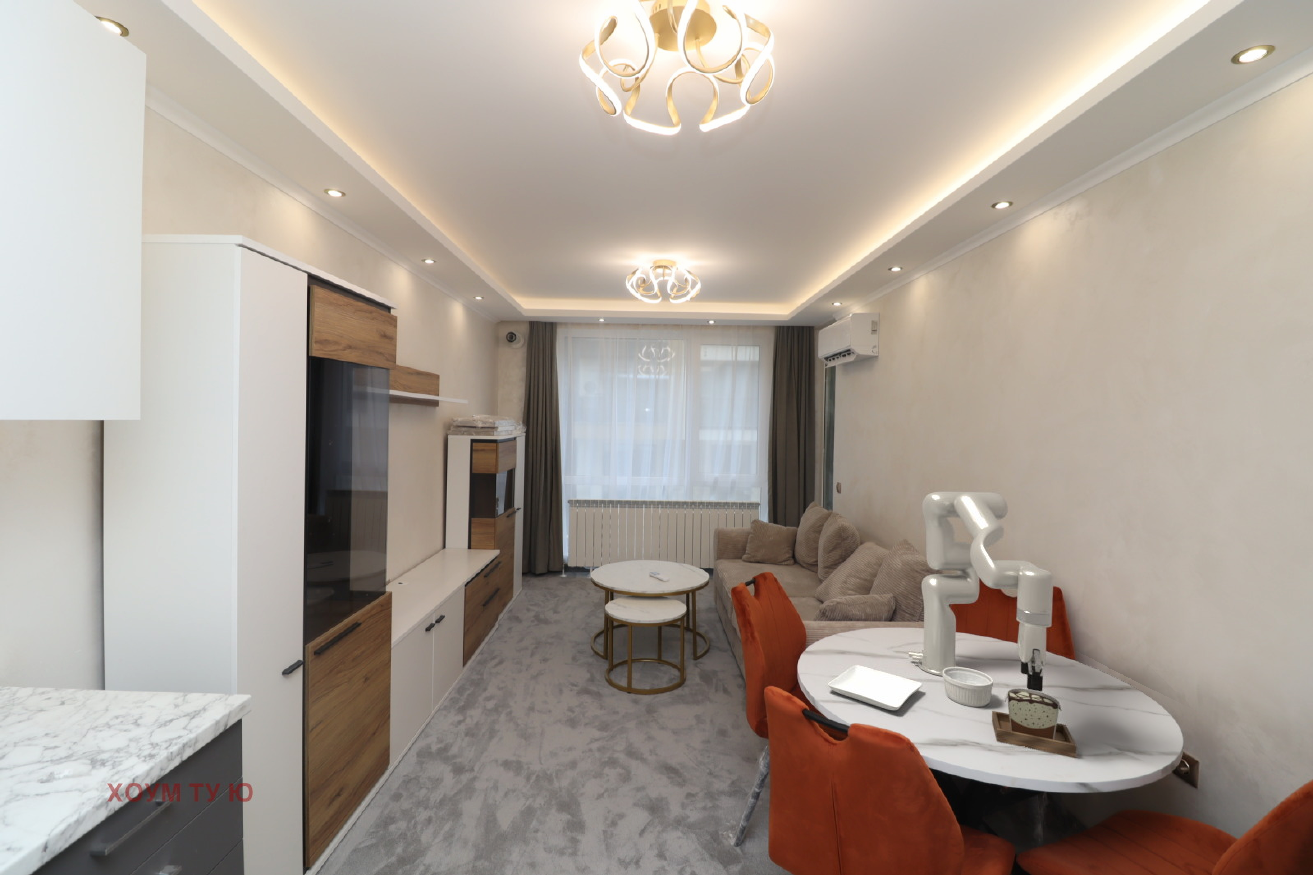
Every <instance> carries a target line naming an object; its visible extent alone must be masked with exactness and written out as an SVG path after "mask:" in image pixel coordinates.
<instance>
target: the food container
mask: <svg viewBox="0 0 1313 875" xmlns="http://www.w3.org/2000/svg"><path fill="white" fill-rule="evenodd" d="M1004 697H1005V698H1004V702H1005V703H1006V702H1007V709H1008V714H1009V719H1010V730H1011V731H1013V732H1018V733H1023V734H1028V735H1033V736H1038V737H1043V738H1047V739H1052V740H1054V738H1055V731H1056V725H1057V723H1058V719H1059V718H1058V716H1059V710H1060V712H1062V707H1061V706H1062V705H1061V704H1060V702H1059V700H1057V699H1056V698H1055V697H1052V696H1051V695H1050V694H1046V693H1043V692H1042V691H1041V692H1040V691H1035V690H1029V689H1028V688H1012V689H1009V690H1008V691H1007V693H1006V694H1005V696H1004Z"/></svg>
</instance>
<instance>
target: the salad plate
mask: <svg viewBox="0 0 1313 875" xmlns="http://www.w3.org/2000/svg"><path fill="white" fill-rule="evenodd" d="M827 686H828V687H829V688H830V689H831V690H832V691H834V692H836V693H837V694H840V695H842V696H846V697H848V698H851V699H854V700H858V701H860V702H862V703H863V702H864V703H866V704H870V705H872V706H876V707H877V708H881V709H884V710H888V711H898V710H899V709H900V708H901V707H902V705H903V704H904V703H905V702H906V701H907V700H908V699H909V698H910V697H911V696H913V694H914V693H916V692H917V691H918V690H920V688H922V686H923V682H919V681H916V680H912V679H909V678H905V677H904V676H899V675H895V674H893V673H889V672H885V671H882V670H876V669H875V668H870V667H866V666H864V665H863V666H862V665H859V664H854V665H852V666H851V667H849V668H848V669H847V670H845V671H844V672H842V673H840V674H839V675H838V676H836V677H835V678H834V679H832V680H830V681H829V682H828V683H827Z"/></svg>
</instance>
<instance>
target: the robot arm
mask: <svg viewBox="0 0 1313 875" xmlns="http://www.w3.org/2000/svg"><path fill="white" fill-rule="evenodd" d="M1008 508H1009V506H1008V503H1007V501H1006V500H1005V498H1004V497H1003V496H1002V495H1001V494H999V493H996V492H990V491H989V492H988V491H987V492H985V491H984V492H983V491H982V492H981V491H977V492H976V491H945V490H944V491H935V492H930V493H928V494H926V496H925V497H924V499H923V500H922V508H921V510H922V516H923V519H924V524H925V532H926V534H925V538H926V540H925V541H926V542H925V543H926V544H925V545H926V546H925V547H926V548H925V549H926V552H925V553H926V562H927V565H928V567H929V568H931V569H932V570H936V571H948V572H949V571H951V572H952V571H957V574H955V573H954V574H952V573H951V574H950V573H935V574H928V575H926V576H925V577H923V579H922V581H921V593H922V594H921V595H922V599H923V649H922V652H921V651H919V652H915V651H908V658H912V660H913V661H914V660H915V661H917V664H918V665H917V666H918V667H919V668H920V669H921V670H922V671H924V672H926V673H929V674H932V675H936V676H940V677H943V670H944V669H946V668H949V667H959V666H958V665H957V664H956V641H957V640H956V638H957V637H956V636H957V635H956V634H957V633H956V632H957V625H956V624H957V619H956V618H957V617H956V615H955V613H954V611H953V610H952V609H951V607H950V605H954V604H957V605H959V604H960V605H961V604H963V605H965V604H974V603H975V602H976V601H977V600H978V599H979V595H980V580H981V582H982V583H983V584H984V585H985V586H987V587H988V588H990V589H994V590H995V589H997V590H1005V589H1006V590H1007V589H1008V590H1011V589H1014V590H1017V597H1016V598H1017V599H1016V600H1017V601H1016V618H1015V619H1016V621H1017V622H1018V623H1019V624H1018V625H1019V626H1018V634H1017V635H1018V636H1017V645H1016V646H1017V648H1016V650H1017V654H1018V656H1019V658H1020V673H1021V674H1023V675H1026V676H1027V677H1026V689H1029V690H1034V691H1038V692H1041V693H1042V692H1043V686H1044V685H1043V684H1044V682H1043V681H1044V674H1043V673H1044V672H1043V667H1044V666H1045V665H1046V654H1047V628H1050V627H1052V617H1053V594H1054V575H1053V573H1052V572H1051V571H1050V570H1047V569H1044V568H1040V567H1038V566H1037V565H1035V564H1034V563H1032V562H1030V561H1027V560H1009V559H1008V560H1004V559H1003V560H1002V559H997V560H994V559H993V558H992V557H991V555H990V554H989V552H988V550H987V549H986V548H988V547H990V546H992V545H993V546H994V544H996V543H998V542H999V541H1001V540H1002V538H1003V537H1004V535H1005V529H1004V527H1003V525H1002V523H1001V522H1000V521H999V520H1003V519H1004V518H1006V517H1007V514H1008V511H1009V510H1008ZM949 518H951V519H952V518H954V519H955V518H956V519H957V518H958V519H960V520H961V522H962V523H963V524H964V526H965V528H966V530H967V531H968V533H969V534H970V536H971V537H972V542H971V543H970V542H967V541H956V540H955V532H956V531H955V527H954V525H953V524H952V523H951V521H950V519H949Z"/></svg>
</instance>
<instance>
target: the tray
mask: <svg viewBox="0 0 1313 875" xmlns="http://www.w3.org/2000/svg"><path fill="white" fill-rule="evenodd" d="M991 724H992V727H993V731H994V736H995V739H996V742H998V743H1004V744H1007V743H1009V744H1008V745H1012V744H1013V745H1014V746H1017V747H1021V746H1025V747H1024V748H1026V747H1028V748H1027V749H1031V748H1032V750H1035V749H1036V751H1041V752H1045V753H1050V754H1054V755H1060V756H1063V757H1069V758H1073V759H1077V744H1076V742H1075V740H1074V738H1073V735H1072V734H1071V732H1070V731H1069V728H1068V726H1067V724H1064V723H1058V722H1057V725H1056V731H1055V738H1054V740H1052V739H1047V738H1043V737H1038V736H1033V735H1028V734H1023V733H1018V732H1013V731H1011V730H1010V719H1009V713H1008V712H1007V713H1006V712H1000V711H997V710H996V711H995V710H991Z"/></svg>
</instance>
